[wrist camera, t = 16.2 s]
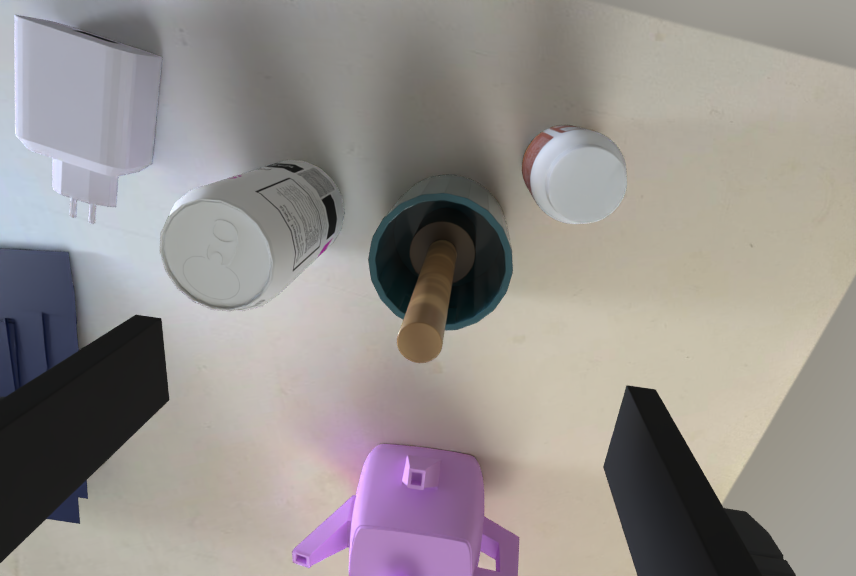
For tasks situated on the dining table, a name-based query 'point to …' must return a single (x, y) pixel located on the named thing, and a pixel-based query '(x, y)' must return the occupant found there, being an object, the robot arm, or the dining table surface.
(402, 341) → the brush
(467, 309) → the jar
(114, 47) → the charger
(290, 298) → the dining table surface
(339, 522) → the teakettle
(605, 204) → the pill bottle
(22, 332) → the dark blue flat slab
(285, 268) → the supplement can
